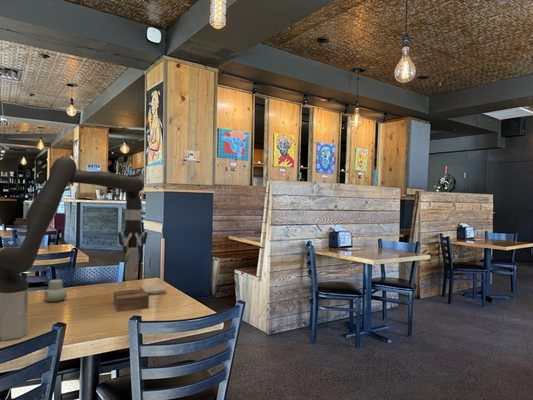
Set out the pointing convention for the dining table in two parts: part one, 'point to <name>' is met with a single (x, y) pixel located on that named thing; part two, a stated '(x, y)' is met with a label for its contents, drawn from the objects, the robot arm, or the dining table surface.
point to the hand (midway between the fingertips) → (132, 253)
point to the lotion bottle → (131, 260)
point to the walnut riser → (130, 300)
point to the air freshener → (55, 291)
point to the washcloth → (153, 289)
